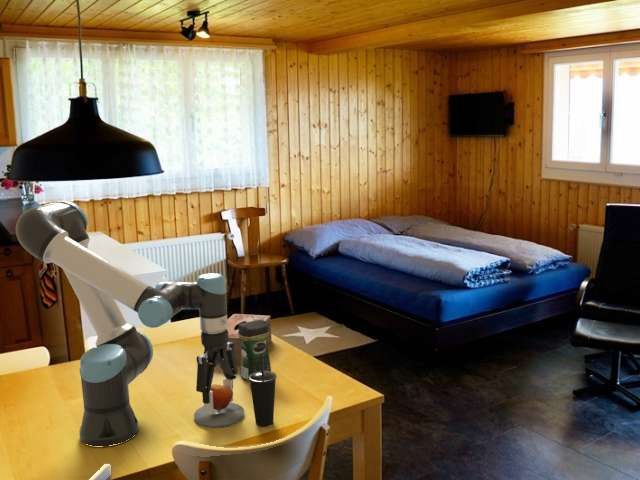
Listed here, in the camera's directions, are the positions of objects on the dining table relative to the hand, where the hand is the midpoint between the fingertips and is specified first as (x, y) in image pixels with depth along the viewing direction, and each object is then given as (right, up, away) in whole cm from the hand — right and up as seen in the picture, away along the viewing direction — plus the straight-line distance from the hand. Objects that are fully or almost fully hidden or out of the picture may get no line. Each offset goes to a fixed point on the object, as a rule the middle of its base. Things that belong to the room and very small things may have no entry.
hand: (219, 406), depth 189 cm
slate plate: (0, -3, +1) cm, 3 cm away
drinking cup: (+13, -4, -4) cm, 14 cm away
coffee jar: (+7, +3, +29) cm, 30 cm away
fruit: (0, -1, 0) cm, 1 cm away
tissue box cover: (0, +6, +52) cm, 52 cm away
